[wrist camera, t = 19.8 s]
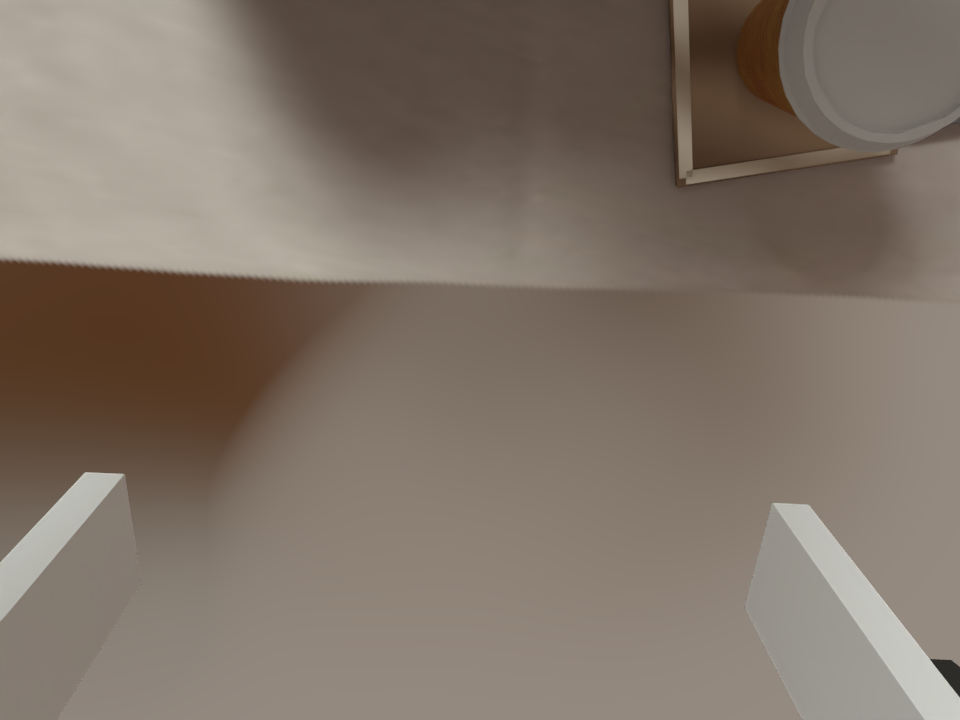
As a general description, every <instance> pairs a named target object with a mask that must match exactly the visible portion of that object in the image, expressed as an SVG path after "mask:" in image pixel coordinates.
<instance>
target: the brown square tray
mask: <svg viewBox="0 0 960 720" xmlns="http://www.w3.org/2000/svg"><path fill="white" fill-rule="evenodd" d="M760 1H761V0H669V21H670V48H671V75H672V102H673V130H674V157H675V184H676V186H677V187H682V186H689V185H696V184H702V183H709V182H716V181H722V180H729V179H736V178H742V177H749V176H755V175H762V174H769V173H775V172H782V171H789V170H795V169H802V168H809V167H815V166H822V165H829V164H835V163H842V162H849V161H855V160H862V159H869V158H875V157H882V156H889V155H895V154H897V153H898V149H893V150H888V151H880V152H860V151H855V150H850V149H845V148H841V147H838V146H836V145H833V144H830V143H829V142H827V141H825V140H823V139H822V138H820V137H819V136H817V135H815V134H814V133H813V132H812V131H811V130H810V129H809V128H808V127H807V126H806V125H805V124H804V123H802V122H801V121H800V120H799V119H798V118H797V117H795V116H793V115H792V114H790V113H788V112H785V111H783V110H781V109H779V108H777V107H775V106H773V105H771V104H769V103H767V102H765V101H763V100H761V99H759V98H758V97H756V96H755V95H754V94H752V93H751V92H750V90H749V89H748V88H747V87H746V85H745V83H744V81H743V80H742V78H741V76H740V73H739V69H738V65H737V53H736V52H737V44H738V39H739V35H740V32H741V29H742V27H743V25H744V23H745V21H746V19H747V17H748V16H749V15H750V13H751V12H752V10H753V9H754V7H755V6H756V5H757V4H758V3H759V2H760Z"/></svg>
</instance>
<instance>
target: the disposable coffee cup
mask: <svg viewBox="0 0 960 720" xmlns="http://www.w3.org/2000/svg"><path fill="white" fill-rule="evenodd" d="M736 53H737V65H738V69H739V73H740V76H741V78H742V80H743V81H744V83H745V85H746V87H747V88H748V89H749V90H750V92H751V93H752V94H754V95H755V96H756V97H758V98H759V99H761V100H763V101H765V102H767V103H769V104H771V105H773V106H775V107H777V108H779V109H781V110H783V111H785V112H788V113H790V114H792V115H793V116H795V117H797V118H798V119H799V120H800V121H801V122H802V123H804V124H805V125H806V126H807V127H808V128H809V129H810V130H811V131H812V132H813V133H814V134H815V135H817V136H819V137H820V138H822V139H823V140H825V141H827V142H829V143H830V144H833V145H836V146H838V147H841V148H845V149H850V150H855V151H860V152H880V151H888V150H893V149H899V148H902V147H905V146H908V145H911V144H914V143H916V142H919V141H921V140H923V139H925V138H927V137H929V136H931V135H933V134H934V133H936V132H937V131H939V130H940V129H942V128H944V127H945V126H947V125H949V124H950V123H952V122H954V121H955V120H956V119H958V118H959V117H960V0H761V1H760V2H759V3H758V4H757V5H756V6H755V7H754V9H753V10H752V12H751V13H750V15H749V16H748V17H747V19H746V21H745V23H744V25H743V27H742V29H741V32H740V35H739V39H738V44H737V52H736Z"/></svg>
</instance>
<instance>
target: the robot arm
mask: <svg viewBox="0 0 960 720" xmlns="http://www.w3.org/2000/svg"><path fill="white" fill-rule="evenodd" d="M141 585H142V584H141V578H140V571H139V565H138V558H137V552H136V546H135V539H134V532H133V526H132V520H131V513H130V506H129V500H128V494H127V487H126V480H125V474H109V473H87V472H85V473H84V474H83V475H82V476H81V478H79V480H78V481H77V482H76V483H75V484H74V485H73V486H72V487H71V488H70V489H69V490H68V491H67V492H66V493H65V494H64V495H63V496H62V498H61V499H60V500H59V501H58V502H57V503H56V504H55V505H54V506H53V507H52V508H51V509H50V510H49V511H48V512H47V513H46V515H45V516H44V517H43V518H42V519H41V520H40V521H39V522H38V523H37V524H36V525H35V526H34V527H33V528H32V529H31V530H30V532H29V533H28V534H27V535H26V536H25V537H24V538H23V539H22V540H21V541H20V542H19V543H18V544H17V546H15V547H14V549H13V550H12V551H11V552H10V553H9V554H8V555H7V556H6V557H5V558H4V559H3V560H2V561H1V562H0V720H57V719H58V717H59V715H60V714H61V712H62V711H63V709H64V707H65V706H66V704H67V703H68V701H69V699H70V698H71V696H72V695H73V693H74V691H75V690H76V688H77V687H78V685H79V684H80V682H81V680H82V679H83V677H84V676H85V674H86V672H87V671H88V669H89V667H90V666H91V664H92V663H93V661H94V659H95V658H96V656H97V655H98V653H99V652H100V650H101V649H102V647H103V645H104V644H105V642H106V640H107V639H108V637H109V636H110V634H111V632H112V631H113V629H114V628H115V626H116V625H117V623H118V621H119V620H120V618H121V617H122V615H123V613H124V612H125V610H126V609H127V607H128V605H129V604H130V602H131V601H132V599H133V597H134V596H135V594H136V593H137V591H138V589H139V588H140V586H141ZM744 608H745V610H746V612H747V614H748V616H749V618H750V620H751V622H752V624H753V625H754V628H755V630H756V632H757V633H758V635H759V637H760V639H761V641H762V643H763V645H764V647H765V649H766V651H767V653H768V655H769V657H770V659H771V661H772V663H773V665H774V666H775V668H776V670H777V672H778V674H779V676H780V678H781V680H782V682H783V684H784V686H785V688H786V690H787V692H788V693H789V696H790V698H791V699H792V701H793V703H794V705H795V707H796V709H797V711H798V713H799V715H800V717H801V719H802V720H960V667H959V666H958V665H957V664H955V663H954V662H953V661H951V660H935V659H933V660H932V659H929V658H928V657H927V655H926V654H925V653H924V651H923V650H922V649H921V648H920V646H919V645H918V644H917V643H916V641H915V640H914V639H913V637H912V636H911V635H910V634H909V632H908V631H907V630H906V628H905V627H904V626H903V625H902V624H901V622H900V621H899V619H898V618H897V617H896V616H895V614H894V613H893V612H892V611H891V609H890V608H889V607H888V606H887V604H886V603H885V602H884V600H883V599H882V598H881V597H880V595H879V594H878V593H877V592H876V590H875V589H874V588H873V586H872V585H871V584H870V583H869V581H868V580H867V579H866V577H865V576H864V575H863V574H862V572H861V571H860V570H859V568H858V567H857V566H856V565H855V563H854V562H853V561H852V559H851V558H850V557H849V556H848V554H847V553H846V552H845V551H844V549H843V548H842V547H841V545H840V544H839V543H838V542H837V540H836V539H835V538H834V537H833V535H832V534H831V533H830V531H829V530H828V529H827V528H826V526H825V525H824V524H823V522H822V521H821V520H820V519H819V517H818V516H817V515H816V513H815V512H814V511H813V510H812V508H811V507H810V506H809V505H807V504H784V503H783V504H782V503H772V506H771V509H770V513H769V517H768V521H767V524H766V528H765V532H764V536H763V539H762V543H761V547H760V551H759V554H758V558H757V562H756V566H755V570H754V573H753V577H752V581H751V584H750V588H749V592H748V596H747V599H746V603H745V607H744Z"/></svg>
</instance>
